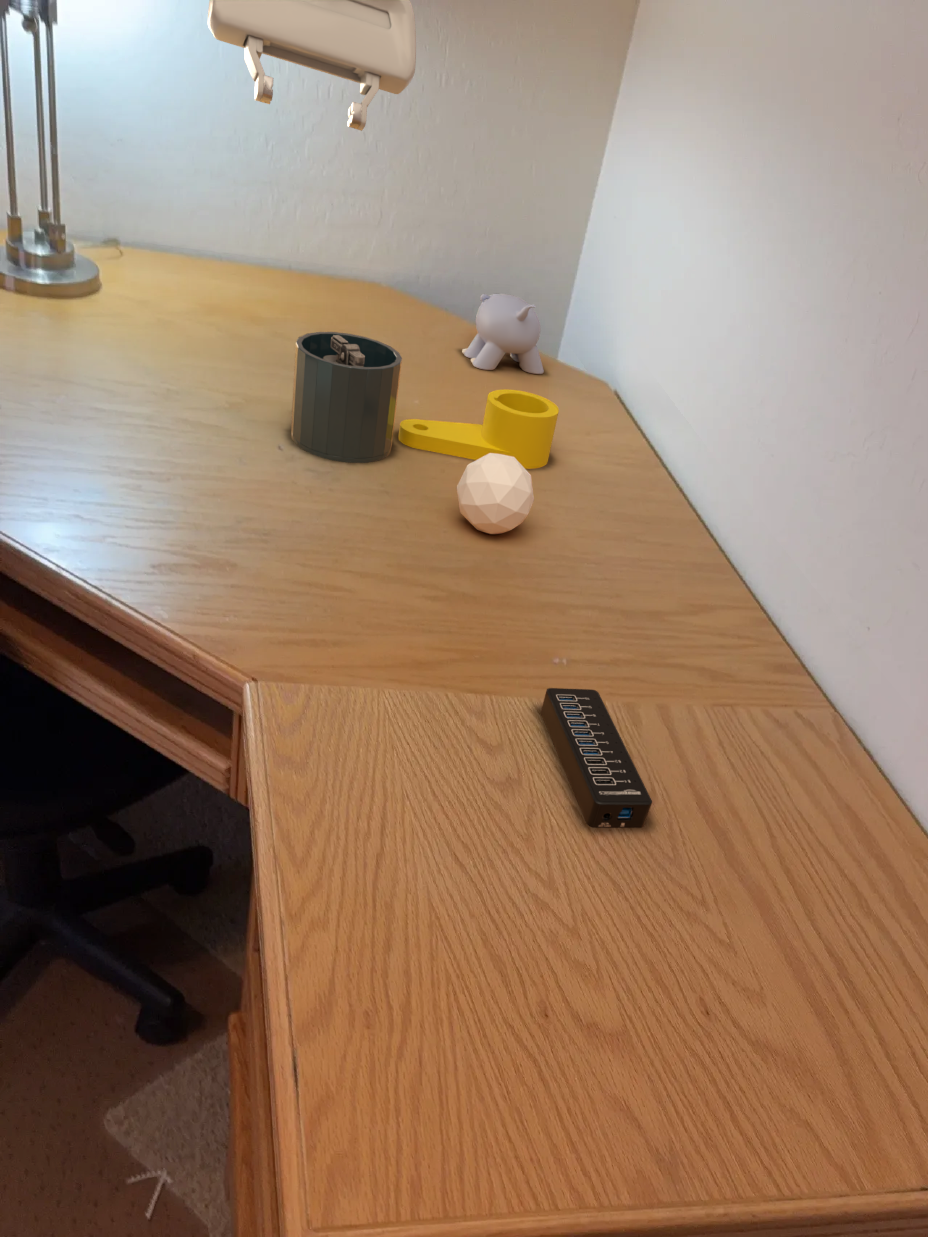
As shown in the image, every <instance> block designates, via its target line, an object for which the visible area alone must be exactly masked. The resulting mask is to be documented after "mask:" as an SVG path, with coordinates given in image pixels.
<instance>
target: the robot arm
mask: <svg viewBox="0 0 928 1237" xmlns="http://www.w3.org/2000/svg"><path fill="white" fill-rule="evenodd" d="M207 26H208V29H209V30H210V32H211V34H212V35H213V37H214V39H216V40H218V41H219V42H222V43H223V42H224V43H226V44H229V45H233V46H236V47H239V48H242V49H244V50H243V51H244V56H243V57H244V58H243V60H244V62H245V64H246V66H247V69H248V72H249V74H250V76H251V78H252V81H253V82H254V96H253V97H254V101H255V102H260V103H263V104H267V105H270V104H271V102H272V100H273V96H274V89H273V87H274V77H272V76H269V75H266V73H265V70H264V67H263V64H262V62H261V58H262V55H265V56H268V57H272V58H276V59H279V60H283V61H286V62H288V63H292V64H296V65H298V66H302V67H305V68H308V69H311V70H315V71H319V72H321V73H325V74H328V75H332V76H335V77H338V78H341V79H345V80H348V81H351V82H355V83H358V84H359V85H360V86H359V94H360V95H362V96H364V98H362V100H361V102H357V101H352V103H351V105H350V106H349V107H348V110H347V117H348V120H347V127H348V128H351V129H354V130H357V131H361V132H362V131H364V129H365V128H366V124H367V116H368V114H367V113H368V107H369V106H370V104H371V103H372V101H373V99H374V98H375V97H376V94H377V93H378V92H379V90H381V91H384V92H387V93H390V94H394V95H399V94H401V93H402V92H403V91H404V90H405V89H406V88H407V87H408V86H409V84H410V83H411V82H412V80H413V79H414V76H415V72H416V63H417V30H416V28H417V27H416V18H415V11H414V8H413V5H412V2H411V0H209V2H208V11H207Z"/></svg>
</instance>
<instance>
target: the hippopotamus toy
mask: <svg viewBox="0 0 928 1237" xmlns="http://www.w3.org/2000/svg"><path fill="white" fill-rule="evenodd" d="M479 300H480V302H481V304H480V305H479V307H478V310H477V312H476V317H475V328H476V332H477V333H476V334H475V336H474V338H473V339H472V340H471V342H470V344H469V345H468V347H466V348H462V350H461V353H462V354H463V355H464V357H466V358H469V359H470V363H472V366H473V367H474V368H475V369H476V368H477V369H478V370H479V369H480V370H484V371H492V370H495V369H496V368H497V366H498V365H499V363H501V361H502V360H503V358H504V356H505V355H506V354H509V356H510V358H511V359H512V360H513V361H515V362H517V363H518V366H519V368H521V370H522V371H524V372H525V373H529V374H533V375H543V374H544V373H545V371H544V366H543V363H542V359H541V355H540V351H539V348H538V346H537V344H538V342H539V340H540V337H541V331H542V330H541V328H542V327H541V322H540V319H539V317H538V313H537V312H536V310H535V308H537V307H536V304H530V303H528V302H527V301H526V300H524V299H523V298H521V297H520V296H517V295H513V294H510V293H509V294H507V293H492V294H490V295H489V294H486V293H482V294H481V295H480V297H479Z"/></svg>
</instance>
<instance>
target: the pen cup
mask: <svg viewBox="0 0 928 1237" xmlns="http://www.w3.org/2000/svg"><path fill="white" fill-rule="evenodd" d="M333 335H339V336H341V337H342V338H344V339H345V340H346V341H348V344H357V345H358V346H359V348H360V353H362V354H363V355H364V356H365V360H364V366H363V367H358V366H349V365H344V364H339V363H334V362H331V361H328V360H325V359H323V357H324V356H327V355H337V354H338V353H337V352H336V351H335V350H333V349H332V348H331V337H333ZM294 348H295V349H294V350H295V352H294V369H293V386H292V405H291V420H290V421H291V424H290V431H291V434H290V438H291V440H292V442H293V443H294V445H296V446H297V447H298V448H300V450H302V451H304V452H306V453H308V454H310V455H313V456H315V457H318V458H322V459H325V460H328V461H329V460H330V461H334V462H338V463H339V462H341V463H348V464H365V463H367V464H368V463H373V462H374V463H375V462H377V461H381V460H384V459H386V458H387V457H388V456H389V455H390V454H391V451H392V445H393V440H394V431H395V422H396V421H395V420H396V414H397V404H398V396H399V389H400V379H401V371H402V362H403V358H402V355H401V353H400V352H399V351H397V350H396V349H395V348H394V347H392V346H390V345H389V344H386V343H384V342H382V341H379V340H377V339H373V338H370V337H366V336H363V335H357V334H354V333H347V332H338V331H315V332H309V333H305V334H303V335H301V336H299V337H298V338H297V339H296V341H295V347H294Z"/></svg>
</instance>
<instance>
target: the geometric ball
mask: <svg viewBox="0 0 928 1237" xmlns="http://www.w3.org/2000/svg"><path fill="white" fill-rule="evenodd" d="M455 489H456V494H457V499H458V500H457V501H458V508H459V514H461V515H462V517H464V518H465V519H466V520H467V521H468V522H469V524H471V526H473V527H474V529H476V530H477V531H479V532H482V533H485V534H489V535H500V534H504V533H507V532H509V531H512V530H514V529H515V528H516V527H518V526H519V525H521V524H523V522H524V521H525V520H526V518H527V517H528V516H529V513H530V512H531V508H532V506H533V504H534V502H535V495H534V489H533V480H532V474H530V472H529V471H528V469H525V468H524V467H523V466H522V465H521V464H520V463H519V462H518V461H517V460H516V458H515V457H512V456H507V455H503V454H496V453H489V454H487V455H485V456H483V457H481V458H479V459H477V460H473V461H472V462H470V463H468V464H467V465H466V467H465V469H464V471H463V473H462V475H461V477H460V479H459V481H458V483H457V485H456V488H455Z"/></svg>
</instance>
